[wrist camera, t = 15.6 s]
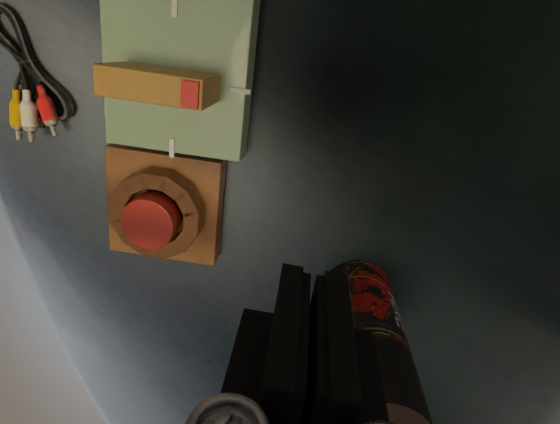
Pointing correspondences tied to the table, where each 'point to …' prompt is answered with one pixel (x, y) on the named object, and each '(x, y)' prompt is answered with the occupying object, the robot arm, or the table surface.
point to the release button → (150, 220)
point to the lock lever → (156, 84)
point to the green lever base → (191, 56)
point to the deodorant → (386, 341)
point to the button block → (179, 188)
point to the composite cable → (31, 86)
